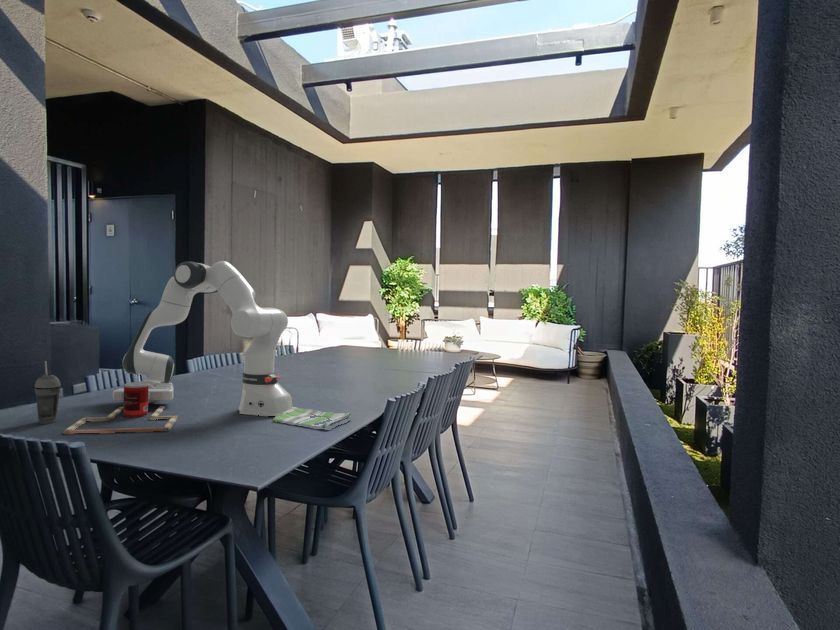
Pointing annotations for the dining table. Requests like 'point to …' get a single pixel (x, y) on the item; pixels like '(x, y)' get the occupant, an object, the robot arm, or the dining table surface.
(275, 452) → the dining table surface
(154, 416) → the t outline
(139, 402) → the canned food
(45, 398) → the beverage cup
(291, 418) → the dish towel
